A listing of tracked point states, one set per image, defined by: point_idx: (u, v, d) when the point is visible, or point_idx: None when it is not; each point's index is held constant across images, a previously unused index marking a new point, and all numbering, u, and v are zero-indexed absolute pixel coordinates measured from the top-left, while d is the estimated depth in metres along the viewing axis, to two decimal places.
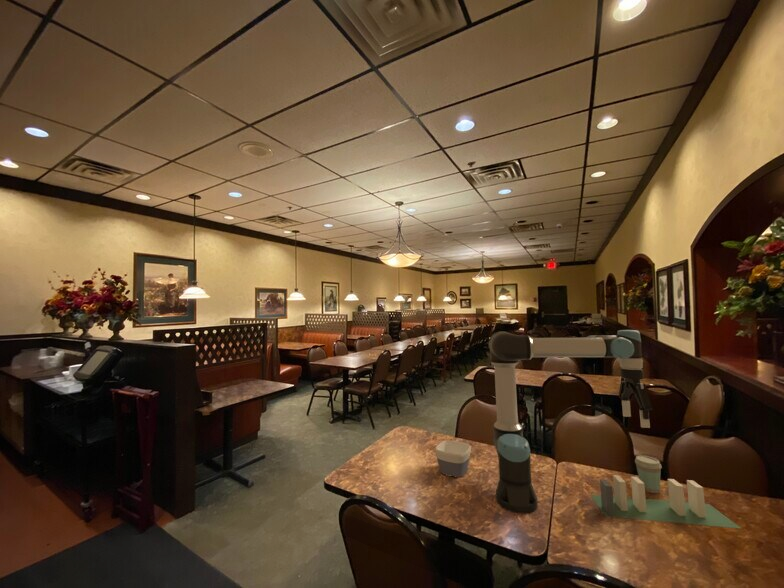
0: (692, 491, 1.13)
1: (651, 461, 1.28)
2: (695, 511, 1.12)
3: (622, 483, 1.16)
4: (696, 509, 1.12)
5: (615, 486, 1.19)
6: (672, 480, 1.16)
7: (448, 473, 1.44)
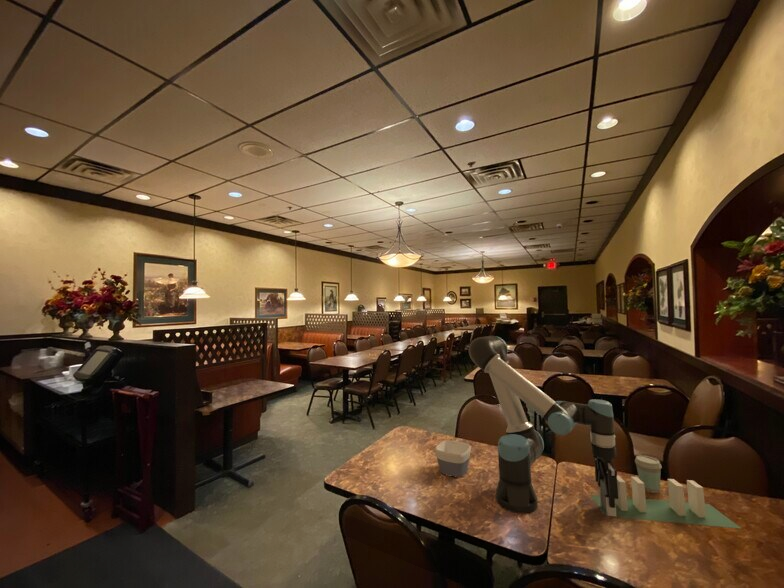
0: (692, 491, 1.13)
1: (651, 461, 1.28)
2: (695, 511, 1.12)
3: (622, 483, 1.16)
4: (696, 509, 1.12)
5: None
6: (672, 480, 1.16)
7: (448, 473, 1.44)
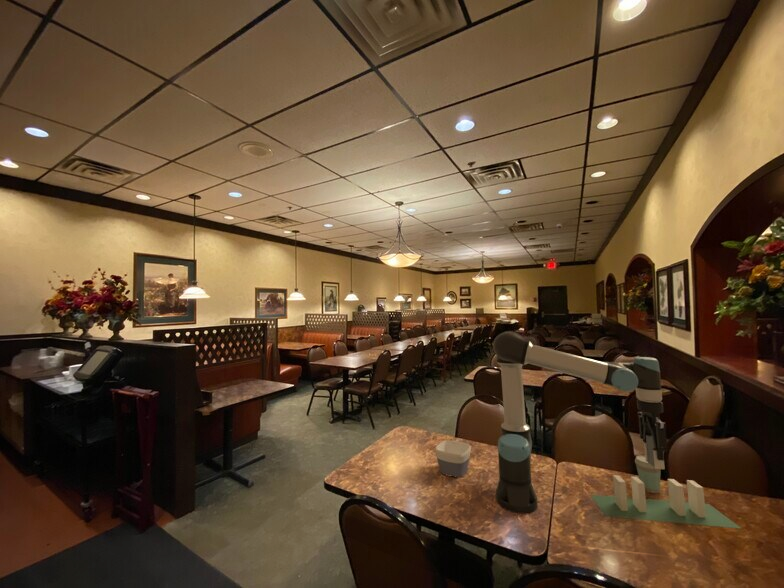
0: (692, 491, 1.13)
1: None
2: (695, 511, 1.12)
3: (622, 483, 1.16)
4: (696, 509, 1.12)
5: (615, 486, 1.19)
6: (672, 480, 1.16)
7: (448, 473, 1.44)
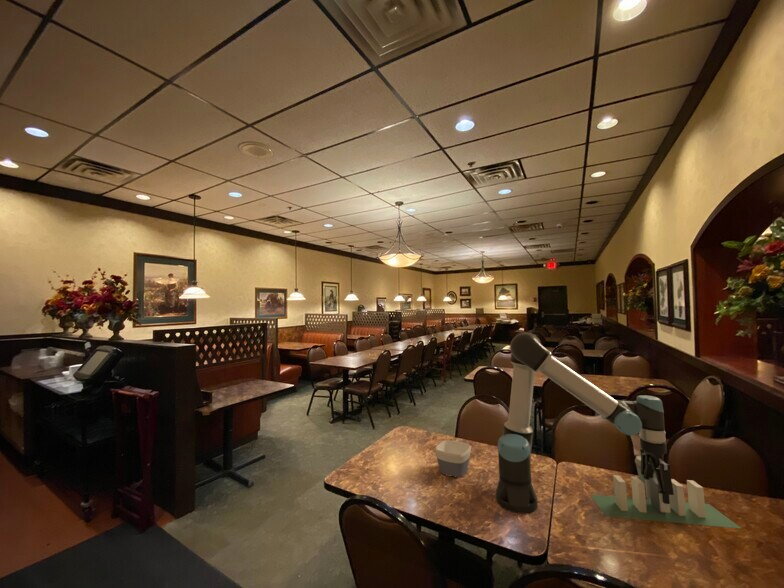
0: (692, 491, 1.13)
1: None
2: (695, 511, 1.12)
3: (622, 483, 1.16)
4: (696, 509, 1.12)
5: (615, 486, 1.19)
6: (672, 480, 1.16)
7: (448, 473, 1.44)
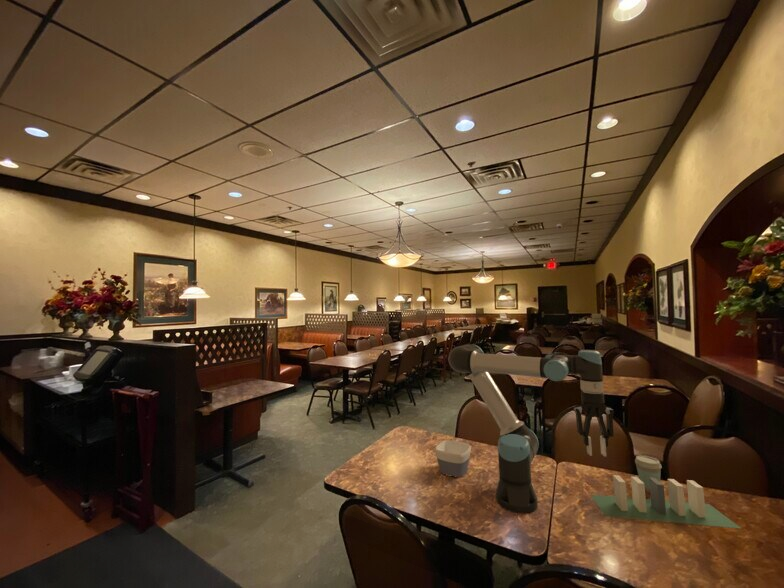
0: (692, 491, 1.13)
1: (651, 461, 1.28)
2: (695, 511, 1.12)
3: (622, 483, 1.16)
4: (696, 509, 1.12)
5: (615, 486, 1.19)
6: (672, 480, 1.16)
7: (448, 473, 1.44)
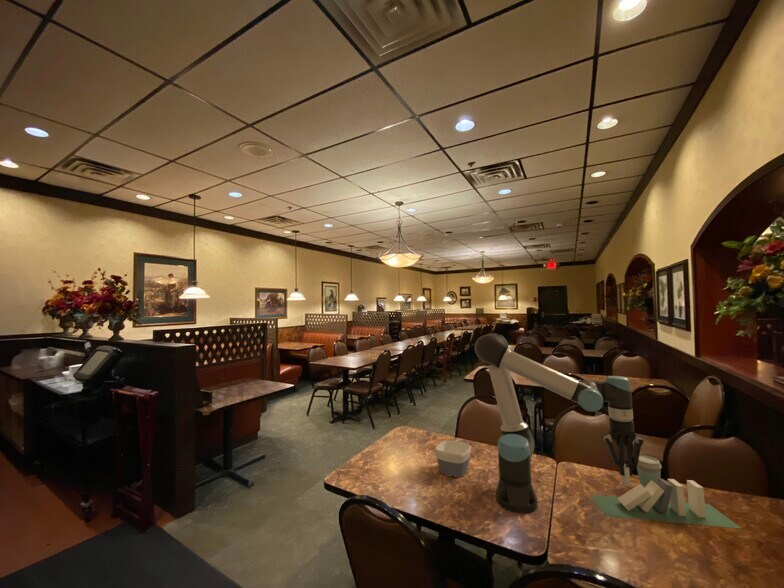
0: (692, 491, 1.13)
1: (651, 461, 1.28)
2: (695, 511, 1.12)
3: (648, 493, 1.14)
4: (696, 509, 1.12)
5: (634, 490, 1.18)
6: (672, 480, 1.16)
7: (448, 473, 1.44)
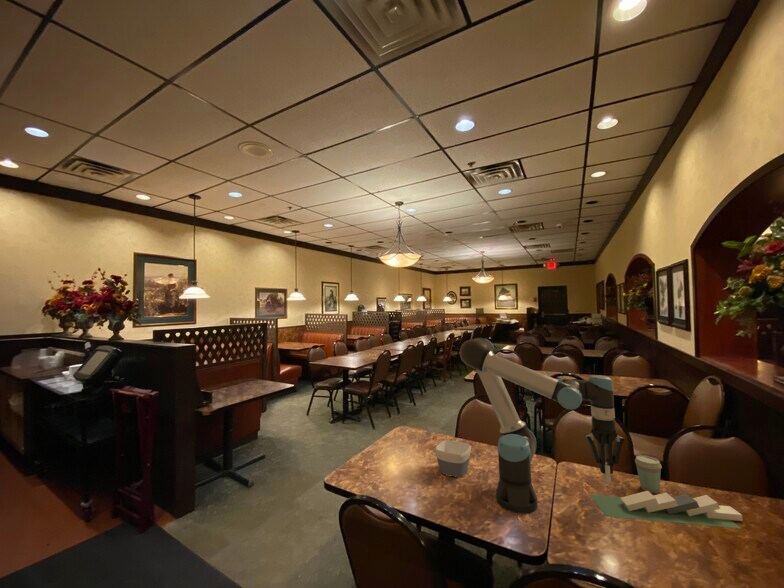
0: (727, 510, 1.11)
1: (651, 461, 1.28)
2: None
3: (655, 501, 1.13)
4: None
5: (640, 495, 1.17)
6: None
7: (448, 473, 1.44)
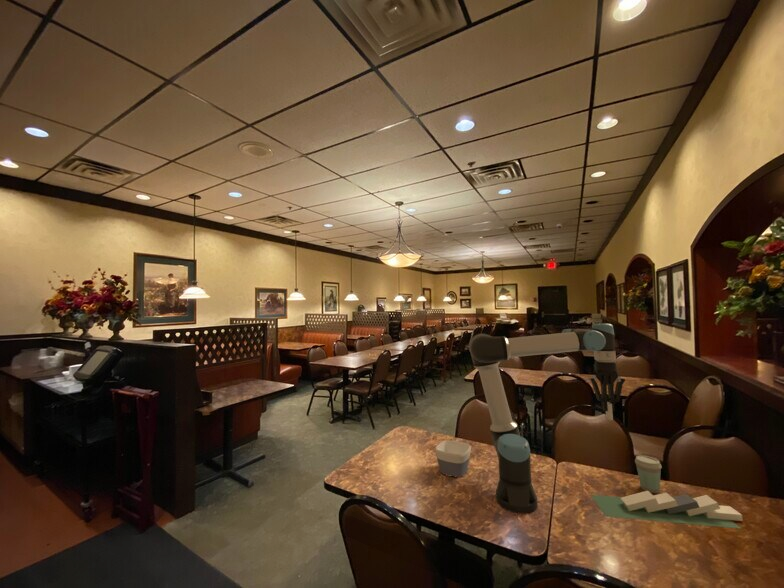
0: (727, 510, 1.11)
1: (651, 461, 1.28)
2: None
3: (655, 501, 1.13)
4: None
5: (640, 495, 1.17)
6: None
7: (448, 473, 1.44)
